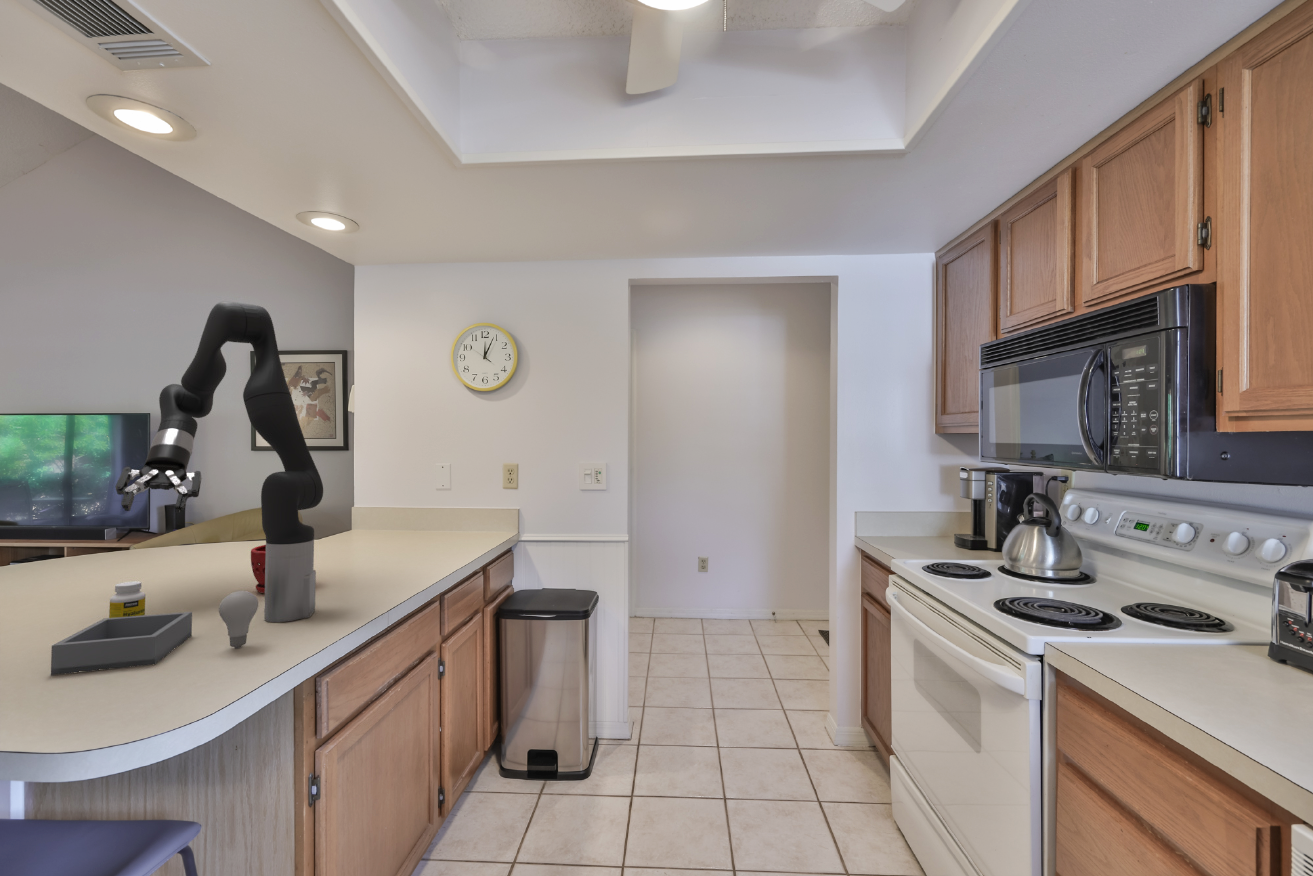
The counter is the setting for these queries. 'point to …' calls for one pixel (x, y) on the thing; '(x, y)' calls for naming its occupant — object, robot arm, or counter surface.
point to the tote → (121, 642)
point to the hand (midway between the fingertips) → (152, 509)
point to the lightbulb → (238, 615)
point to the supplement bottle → (127, 600)
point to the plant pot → (259, 566)
